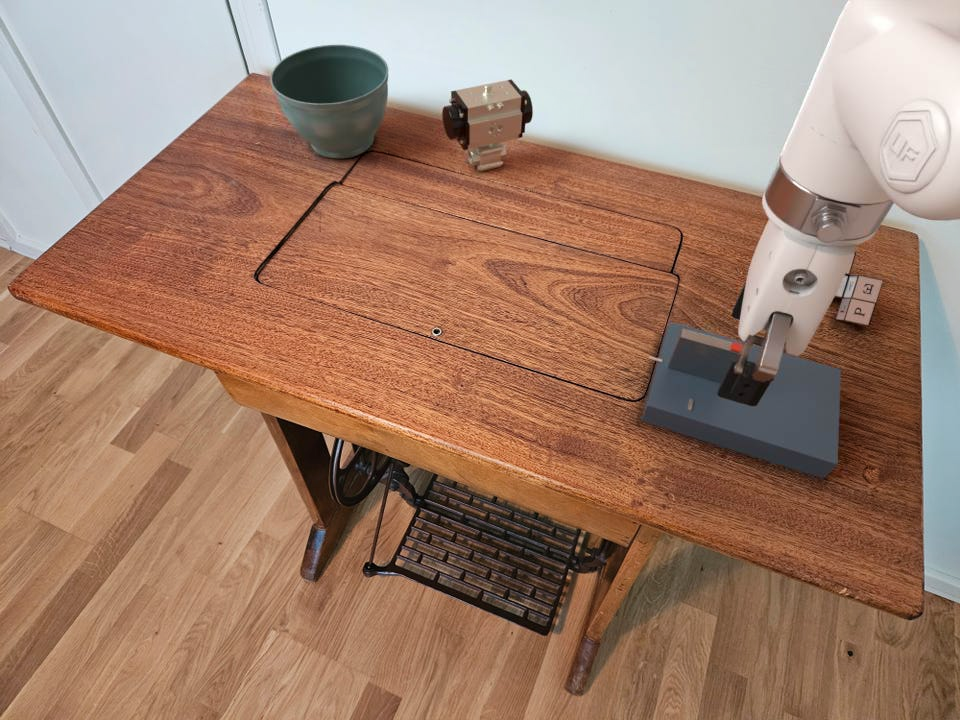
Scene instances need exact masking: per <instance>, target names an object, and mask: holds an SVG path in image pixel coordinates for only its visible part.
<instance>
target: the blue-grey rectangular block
mask: <svg viewBox="0 0 960 720" xmlns="http://www.w3.org/2000/svg"><path fill="white" fill-rule="evenodd" d="M682 329H686V330H690V331H693V332H697V333H700V334H704V335H707V336H711V337H715V338H718V339H722V340H725V341H729V342H735V343H739V344H742V345H743V341H742V340H737V339H734V338H730V337H728V336H723V335H719V334H716V333H712V332H709V331H705V330H702V329H698V328H694V327H690V326H687V325H685V324H680V323H676V322H672V321H669V322H668V324H667V327H666V330H665V332H664V335H663V337H662V341H661V344H660V348H659V352H658V356H657V357H655V356H651V355H649V356H648V360H650V361H654V362H656V364H655V366H654V370H653V374H652V378H651V382H650V386H649V389H648V393H647V397H646V401H645V404H644V407H643V412H642V416H641V419H640V421H641V422H642V423H646V424H648V425H652V426H655V427H659V428H661V429H664V430H668V431H671V432H674V433H678V434H680V435H684V436H687V437H690V438H692V439H695V440H699V441H702V442H705V443H709V444H712V445H716V446H718V447H721V448H724V449H728V450H731V451H734V452H737V453H741V454H743V455H747V456H750V457H753V458H756V459H760V460H762V461H766V462H768V463H772V464H775V465H778V466H782V467H785V468H788V469H791V470H794V471H797V472H800V473H803V474H807V475H808V476H809V475H810V476H813V477H815V478H816V477H817V478H819V479H822V480H824V479H825V478H826V477H827V476H828V475H829V474H830V473H831V472H832V471H833V470H834V469H835V468H836V467H837V466H838V463H839V440H840V439H839V437H840V436H839V435H840V410H841V409H840V408H841V382H842V381H841V377H842V376H841V375H842V369H840V368H837V367H834V366H830V365H827V364H824V363H820V362H816V361H812V360H809V359H805V358H802V357H798V356H794V355H790V354H786V353H784V352H783V354H782V357H781V361H780V365H779V368H778V372H777V374H776V376H775V377H774V380H773V381H772V382H771V383H770V385H769V386H768V388H767V390H766V391H765V393H764V394H763V396H762V398H761V399H760V401H759V403H758V404H757V406H749V405H745V404H742V403H738V402H735V401H732V400H728V399H725V398H721V397H719V396H718V389H719V387H720V385H721V383H718V382H715V381H712V380H708V379H705V378H701V377H698V376H695V375H691V374H688V373H685V372H681V371H678V370H675V369H671V368H668V364H669V360H670V358H671V355H672V353H673V350H674V348H675V345H676V343H677V341H678V338H679V336H680V333H681V331H682ZM761 348H762V346H759V345H755V344H753V345H752V348H751V351H750V353H749V356H748V359H747V361H750V362H754V363H756V360H757V359H758V357H759V355H760V352H761Z"/></svg>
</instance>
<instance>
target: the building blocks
mask: <svg viewBox="0 0 960 720" xmlns="http://www.w3.org/2000/svg"><path fill="white" fill-rule="evenodd" d="M856 256H857V252H856V251H855V252H854V254H853V257H852V259H851V262H850V264H849V267H848V269H847V271H846V274H845V276H844V278H843V280H842V282H841V284H840V286H839V289H838V291H837V293H836V294H835V296H834V298H833V299H840V300H841V302H840V305H839V308H838V312H837V314H836V317H835V318H836V319H835V321H840V322H844V323H848V324H854V325H858V326H867V327H870V325H871V322H872V319H873V315H874V312H875V309H876V307H877V303H878V299H879V297H880V294H881V290H882V289H883V284H884V280H885V279H883V278H880V277H879V278H878V277H874V276H868V275H864V274H859V273H858V274H857V273H856V274H852V273H851V272H852V268H853V266H854V262H855V259H856Z"/></svg>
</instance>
